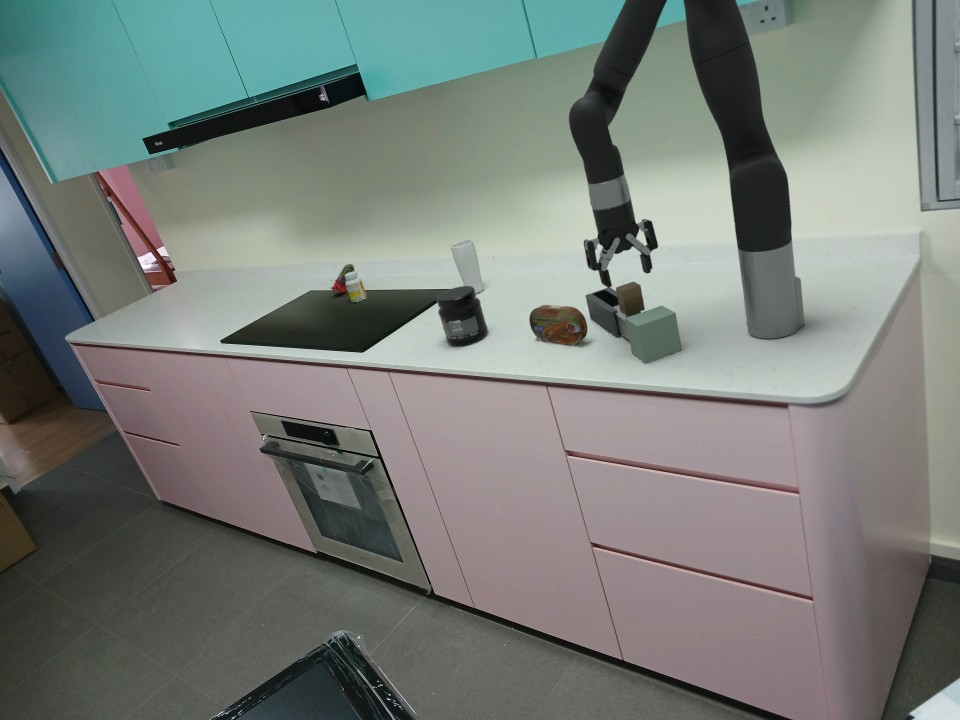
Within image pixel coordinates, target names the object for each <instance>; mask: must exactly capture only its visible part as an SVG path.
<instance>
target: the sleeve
mask: <svg viewBox="0 0 960 720" xmlns="http://www.w3.org/2000/svg"><path fill="white" fill-rule="evenodd" d="M585 299H586V303H587V304H586V305H587V308H588V315H589V319H590V320H591V321H593V323H595V322H596V323H595V324H597V325H598V326H599V325H600V328H603V330H605V331H607V332H608V334H610V333H611V334H610V335H612V336H613V337H614V336H615V337H614V338H620V337H623V336H622V334H620V333H619V332H618V330H617V325H616V320H615V316H614V314H616V313H618V312H617V310H616V309H615V308H613V307H615V306H618V305H619V302H618V297H617V292H616V289H613V288H612V287H609V288H608V287H606V288H603V289H600V290H596V291H594V292H591V293H588V294H585Z"/></svg>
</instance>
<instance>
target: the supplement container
mask: <svg viewBox="0 0 960 720" xmlns="http://www.w3.org/2000/svg"><path fill="white" fill-rule="evenodd" d="M436 302H437V305H438V307H439V309H438V311H437V312H438V316H439V318H440V321H441V324H442V326H443V327H442V328H443V330H444V334H445V336H446V341H447V342H448V343H449V344H450V345H452V346H457V347H460V346H461V347H462V346H468V345H472V344H474V343H477V342H479V341H480V340H481V339H483V338H484V337H485V336H486V335H487V334H488V329H489V328H488V325H487V322H486V319H485V315H484V313H483V308H482V306H481V305H482V304H481V300H480V298H479V297H477V294H476V293H475V289H474V288H473V287H471V286H464V285H462V286H456V287H452V288H450V289H447V290H445V291H443V292H442V293H440V294H439V295H438V296H437V297H436Z"/></svg>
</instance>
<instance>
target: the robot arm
mask: <svg viewBox="0 0 960 720" xmlns="http://www.w3.org/2000/svg"><path fill="white" fill-rule="evenodd" d="M667 1H668V0H624V3H623V5H622V8H621V9H620V12H619V13H618V16H617V17H616V20H615V22H614V23H613V26H612V27H611V30H610V31H609V34H608V35H607V37H606V40H605V41H604V44H603V46H602V48H601V51H600V52H599V55H598V56H597V59H596V61H595V64H594V66H593V70H592V71H593V77H592V79H591V81H590V83H589V86H588V87H587V89H586V91H585V92H584V95H583V97H580V98H579V99H577V100H576V101H575V102H573V104H572V106H571V108H570V109H569V114H568V125H569V129H570V134H571V136H572V140H573V141H574V143H575V147H576V149H577V151H578V153H579V155H580V157H581V159H582V163H583V169H584V173H585V177H586V181H587V187H588V196H589V201H590V202H589V203H590V207H591V209H592V215H593V218H594V223H595V227H596V231H597V236H596V237H597V238H591V239H588V238H586V239H584V240H583V248H584V254H585V257H586V264H587V268H588V269H590V270H591V271H594V272H595V271H597V272H598V275H599V278H600V283H601V284H602V285H603V286H605V287H606V288H609V287H610V288H612V286H613V285H612V284H613V283H612V281H611V275H610V271H609V269H608V267H609V264H610V262H611V261H612V260H613V257H614V255H618V254H621V253H623V252H624V251H629V250H631V249H632V248H634V249H635V250H637V251H638V252H639V253H640V254H639V258H640V263H641V264H640V265H641V267H642V272H643V273H645V274H647V275H648V274H650V273H651V272H652V271H651V270H653V263H652V258H651V253H652V252H653V251H654V250H657V249H658V248H659V244H658V239H657V236H656V232H655V228H654V224H653V221H652V220H649V219H646V218H643V219H641V221H640V222H638V223H637V222H636V217H635V212H634V208H633V203H632V197H631V193H630V188H629V184H628V181H627V178H626V174H625V171H624V170H625V169H624V165H623V161H622V156H621V151H620V150H619V148H618V146H617V145H615V144H613V141H612V137H611V133H610V130H609V126H610V125H611V123H612V122H613V120H614V119H615V117H616V116H617V112H618V110H620V109H619V108H620V106H621V103H622V101H623V99H624V96H625V94H626V91H627V87H628V85H629V84H630V82H631V80H633V77H634V75H635V73H636V72H637V69H638V67H640V66H639V65H641V62H642V61H643V58H644V56H645V53H646V52H647V50H648V49H649V48H648V47H649V45H650V42H651V41H652V38H653V36H654V33H655V31H656V28H657V26H658V22H659V20H660V18H661V15H662V13H663V10H664V8H665V6H666V4H667ZM683 5H684V12H685V21H686V23H685V24H686V32H687V39H688V46H689V52H690V56H691V61H692V65H693V68H694V72H695V75H696V78H697V82H698V85H699V88H700V91H701V93H702V95H703V99H704V101H705V102H706V106H707V107H708V109H709V111H710V114H711V115H712V117H713V120H714V121H715V123H716V126H717V127H718V129H719V132H720V135H721V138H722V143H723V146H724V151H725V152H724V153H725V156H726V161H727V167H728V168H727V169H728V174H729V187H730V188H729V190H730V198H731V206H732V213H733V215H732V216H733V221H734V222H733V223H734V229H735V230H734V231H735V238H736V239H735V240H736V245H737V252H738V253H737V255H738V261H739V262H738V263H739V269H740V277H741V278H740V279H741V286H742V293H743V294H742V295H743V301H744V309H745V318H746V326H747V333H748V334H749V335H750V336H752V337H754V338H759V339H765V340H766V339H778V338H779V339H780V338H783V337H787V336H790V335H793V334H794V333H796V332H797V331H799V329H800V328H801V327H803V326H805V324H806V323H805V313H804V302H803V292H802V291H803V289H802V281H801V278H800V277H798V276H797V275H796V268H795V258H794V256H795V255H794V249H793V248H794V247H793V237H792V226H793V225H792V213H791V201H790V187H789V186H790V185H789V180H788V175H787V172H786V170H785V167H784V165H783V163H782V162H781V159H780V158H779V156H778V153H777V151H776V149H775V146H774V144H773V142H772V141H773V140H772V139H771V136H770V133H769V131H768V128H767V126H766V121H765V118H764V113H763V104H762V96H761V95H762V94H761V86H760V79H759V74H758V68H757V65H756V60H755V57H754V53H753V49H752V45H751V42H750V37H749V35H748V31H747V29H746V26H745V22H744V19H743V15H742V14H741V10H740V8H739V5H738V2H737V1H736V0H683ZM640 231H641V232H642V233H643V234H644V238H645V241H646V244H644V243H642V242H641V241H640V240H639V239H638V238H637V237H638V234H639V232H640ZM598 245H600V246H601V251H600V253H599V258H598V260H597V254H596V250H597V249H598Z"/></svg>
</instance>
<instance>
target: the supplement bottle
mask: <svg viewBox="0 0 960 720" xmlns="http://www.w3.org/2000/svg"><path fill="white" fill-rule="evenodd" d="M345 278H346V280H347V281H346V283H345V284H346V287H347V289H346V290H347V291H348V293H349V294H348V293H347V294H348V296H349V298H350V301H351V303H352V302H359V301H362V300H364V299H366V298H367V299H368V296H367V293H366V290H365V286H364V284H363V280H362V278H361V277H359V276H358V272H357V271H354V272H350V273H347V274H345ZM367 299H366V300H367Z"/></svg>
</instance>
